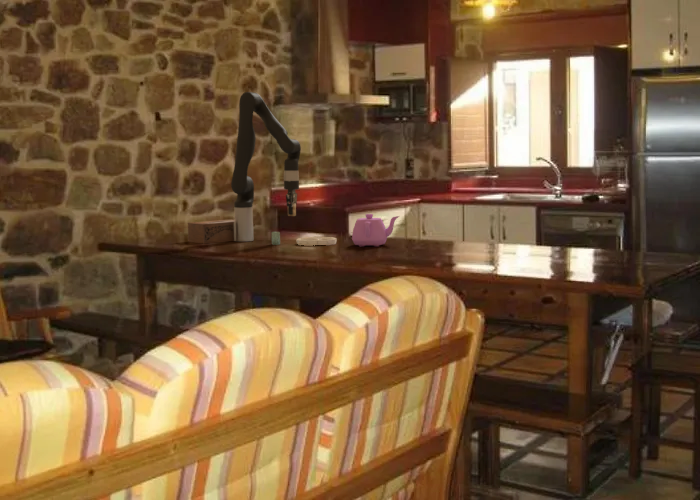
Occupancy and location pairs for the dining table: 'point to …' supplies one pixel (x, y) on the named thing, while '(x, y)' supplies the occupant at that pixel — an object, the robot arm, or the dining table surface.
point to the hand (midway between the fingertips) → (291, 214)
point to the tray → (316, 241)
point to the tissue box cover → (211, 231)
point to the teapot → (371, 231)
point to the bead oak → (293, 210)
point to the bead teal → (275, 238)
